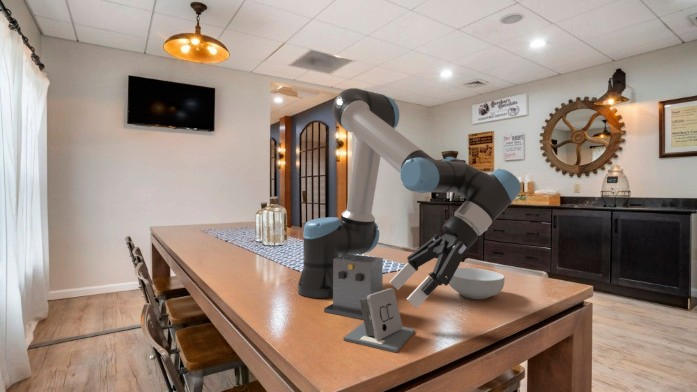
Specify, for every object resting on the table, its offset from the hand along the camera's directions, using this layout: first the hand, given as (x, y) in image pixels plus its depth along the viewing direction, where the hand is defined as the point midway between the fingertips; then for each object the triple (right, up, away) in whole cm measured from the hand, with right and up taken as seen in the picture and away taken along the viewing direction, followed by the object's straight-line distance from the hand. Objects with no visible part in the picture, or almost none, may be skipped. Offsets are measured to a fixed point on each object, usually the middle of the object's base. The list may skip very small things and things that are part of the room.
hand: (401, 294), depth 77 cm
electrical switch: (-5, -9, 0) cm, 10 cm away
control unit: (-9, -9, +17) cm, 21 cm away
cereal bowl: (+28, -9, +31) cm, 43 cm away
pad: (-5, -9, 0) cm, 10 cm away
